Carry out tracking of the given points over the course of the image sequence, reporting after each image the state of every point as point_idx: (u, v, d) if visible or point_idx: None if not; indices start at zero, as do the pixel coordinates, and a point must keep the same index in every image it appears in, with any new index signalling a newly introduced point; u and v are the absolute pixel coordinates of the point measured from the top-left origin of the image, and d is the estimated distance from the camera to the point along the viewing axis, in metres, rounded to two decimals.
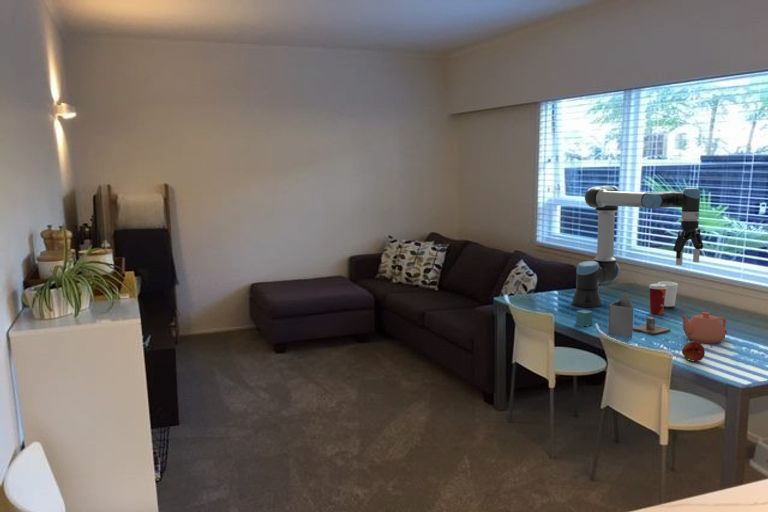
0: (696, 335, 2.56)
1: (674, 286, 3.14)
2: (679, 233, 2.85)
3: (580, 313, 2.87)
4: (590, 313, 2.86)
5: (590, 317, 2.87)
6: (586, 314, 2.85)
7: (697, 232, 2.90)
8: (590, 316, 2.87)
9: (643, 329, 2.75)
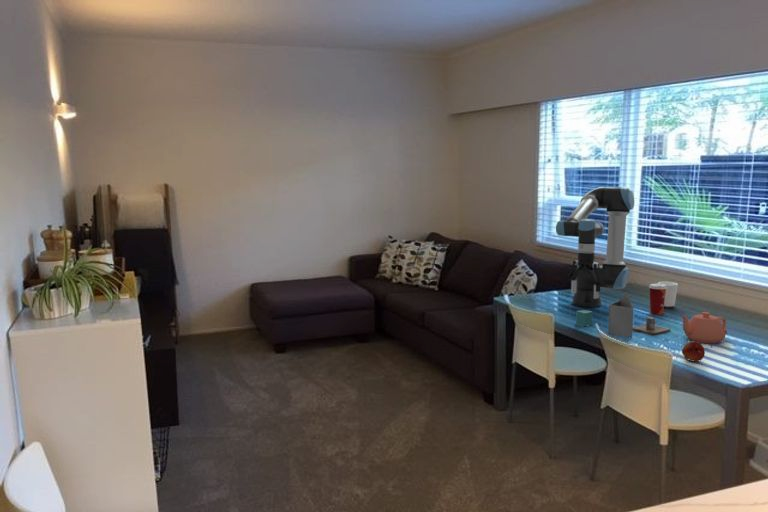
0: (696, 335, 2.56)
1: (674, 286, 3.14)
2: None
3: (580, 313, 2.87)
4: (590, 313, 2.86)
5: (590, 317, 2.87)
6: (586, 314, 2.85)
7: (593, 266, 2.79)
8: (590, 316, 2.87)
9: (643, 329, 2.75)
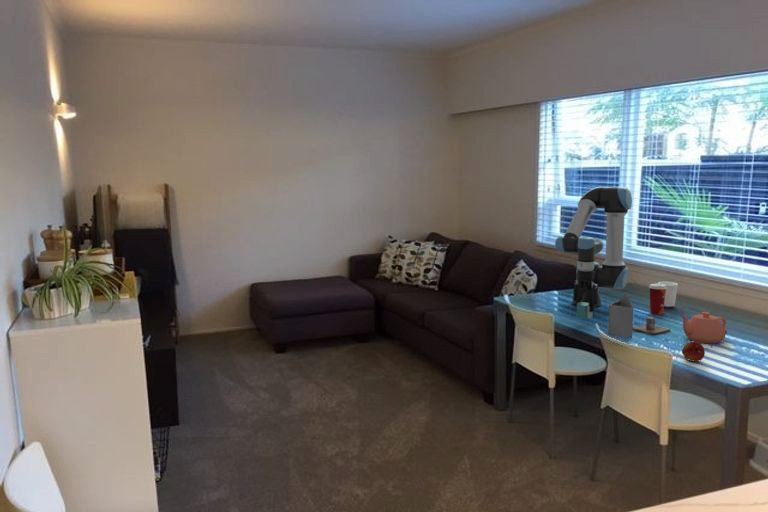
0: (696, 335, 2.56)
1: (674, 286, 3.14)
2: None
3: (580, 306, 2.87)
4: None
5: None
6: (586, 307, 2.85)
7: (592, 286, 2.81)
8: None
9: (643, 329, 2.75)
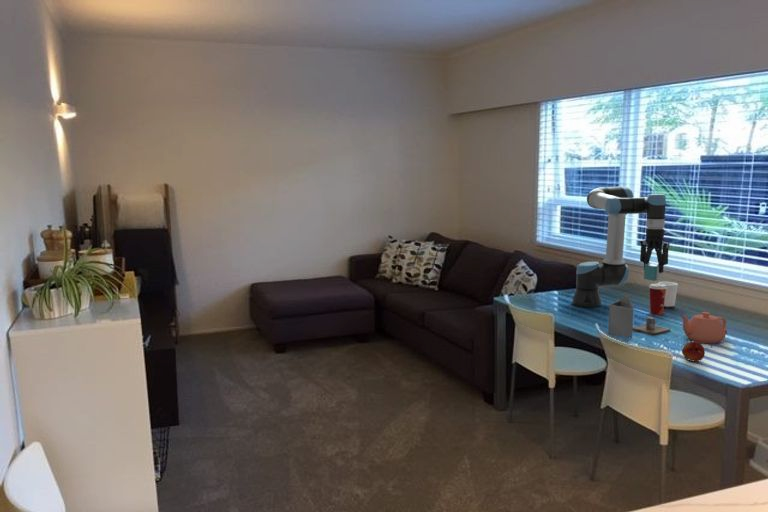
0: (696, 335, 2.56)
1: (674, 286, 3.14)
2: None
3: (649, 266, 2.71)
4: None
5: None
6: (656, 267, 2.69)
7: (663, 245, 2.66)
8: None
9: (643, 329, 2.75)
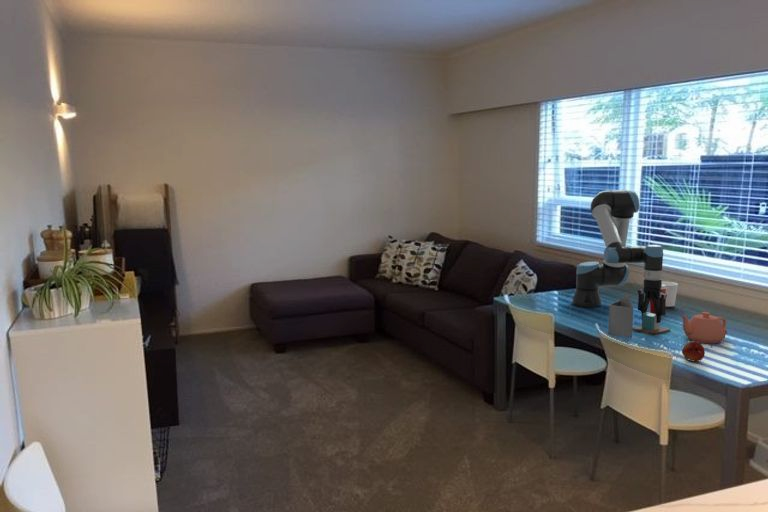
0: (696, 335, 2.56)
1: (674, 286, 3.14)
2: None
3: (646, 316, 2.74)
4: None
5: None
6: (653, 317, 2.73)
7: (660, 296, 2.70)
8: None
9: (643, 329, 2.75)
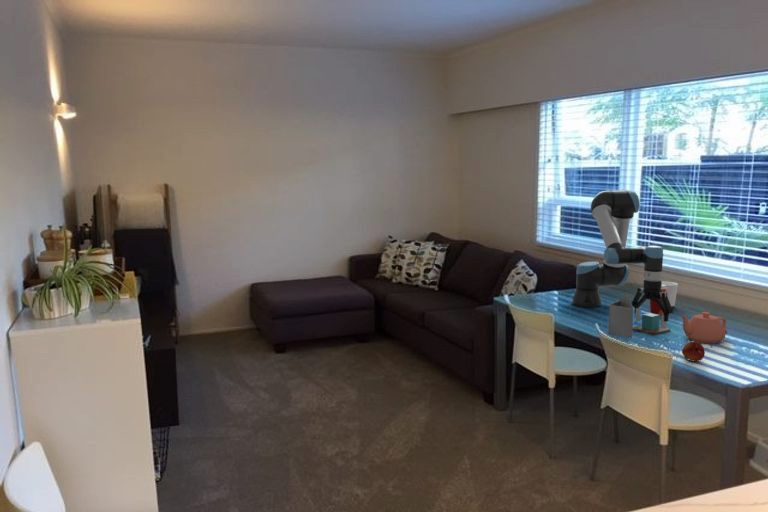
0: (696, 335, 2.56)
1: (674, 286, 3.14)
2: None
3: (646, 316, 2.74)
4: (657, 316, 2.74)
5: (657, 320, 2.74)
6: (653, 317, 2.73)
7: (661, 295, 2.69)
8: (657, 319, 2.74)
9: (643, 329, 2.75)
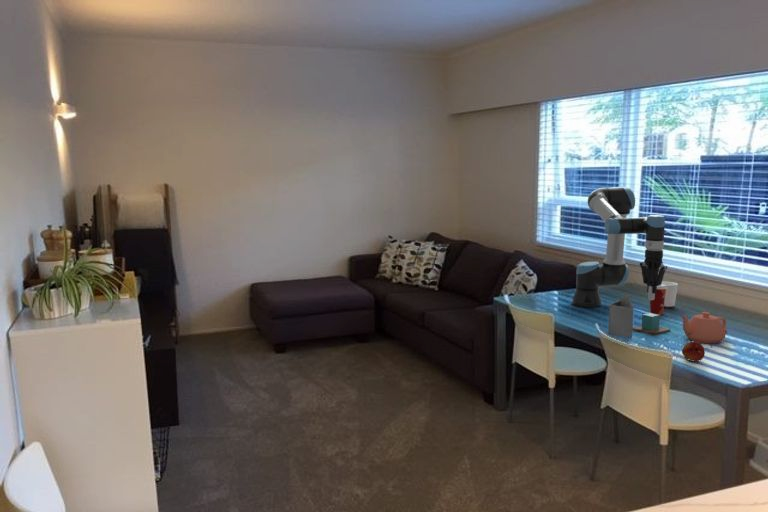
0: (696, 335, 2.56)
1: (674, 286, 3.14)
2: None
3: (646, 316, 2.74)
4: (657, 316, 2.74)
5: (657, 320, 2.74)
6: (653, 317, 2.73)
7: (660, 267, 2.68)
8: (657, 319, 2.74)
9: (643, 329, 2.75)
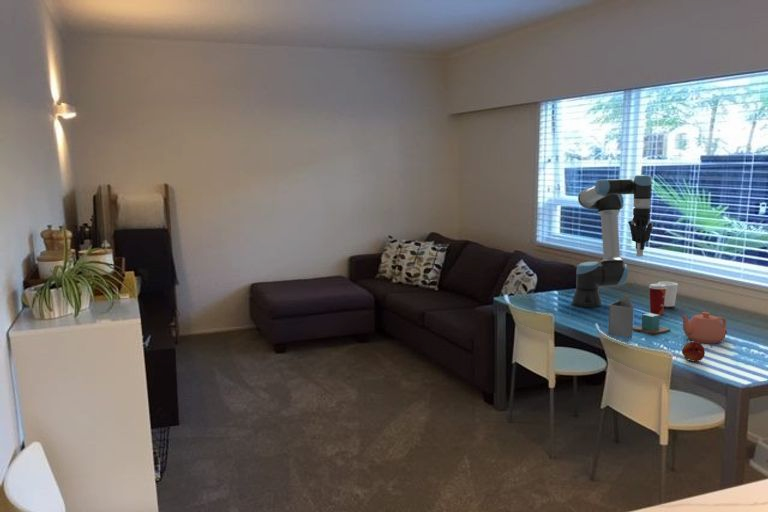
0: (696, 335, 2.56)
1: (674, 286, 3.14)
2: None
3: (646, 316, 2.74)
4: (657, 316, 2.74)
5: (657, 320, 2.74)
6: (653, 317, 2.73)
7: (648, 224, 2.82)
8: (657, 319, 2.74)
9: (643, 329, 2.75)
